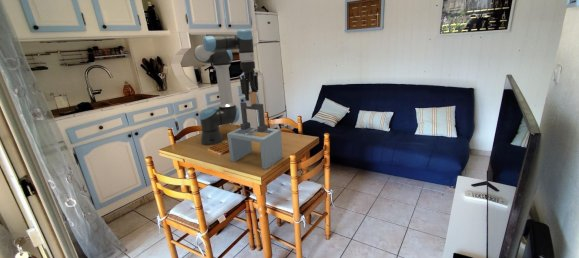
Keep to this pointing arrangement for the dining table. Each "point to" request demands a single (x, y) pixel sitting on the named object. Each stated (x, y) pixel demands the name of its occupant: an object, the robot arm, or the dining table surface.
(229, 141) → the shelf
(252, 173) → the dining table surface
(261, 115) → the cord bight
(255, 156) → the dining table surface
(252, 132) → the hook bar
